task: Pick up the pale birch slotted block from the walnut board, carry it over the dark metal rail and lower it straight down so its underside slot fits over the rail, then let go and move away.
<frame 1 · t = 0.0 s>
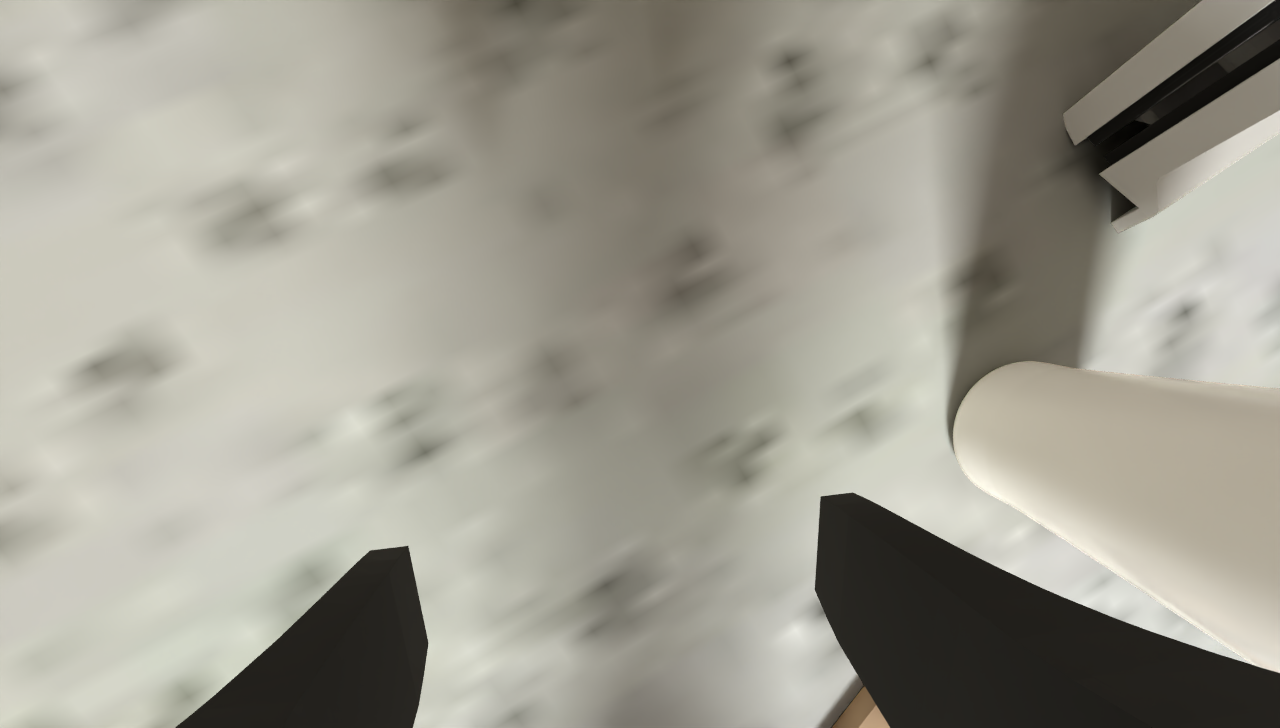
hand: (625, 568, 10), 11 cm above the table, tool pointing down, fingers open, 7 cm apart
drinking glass: (1004, 425, 23), on the table
light grey piece: (1245, 27, 22), on the table
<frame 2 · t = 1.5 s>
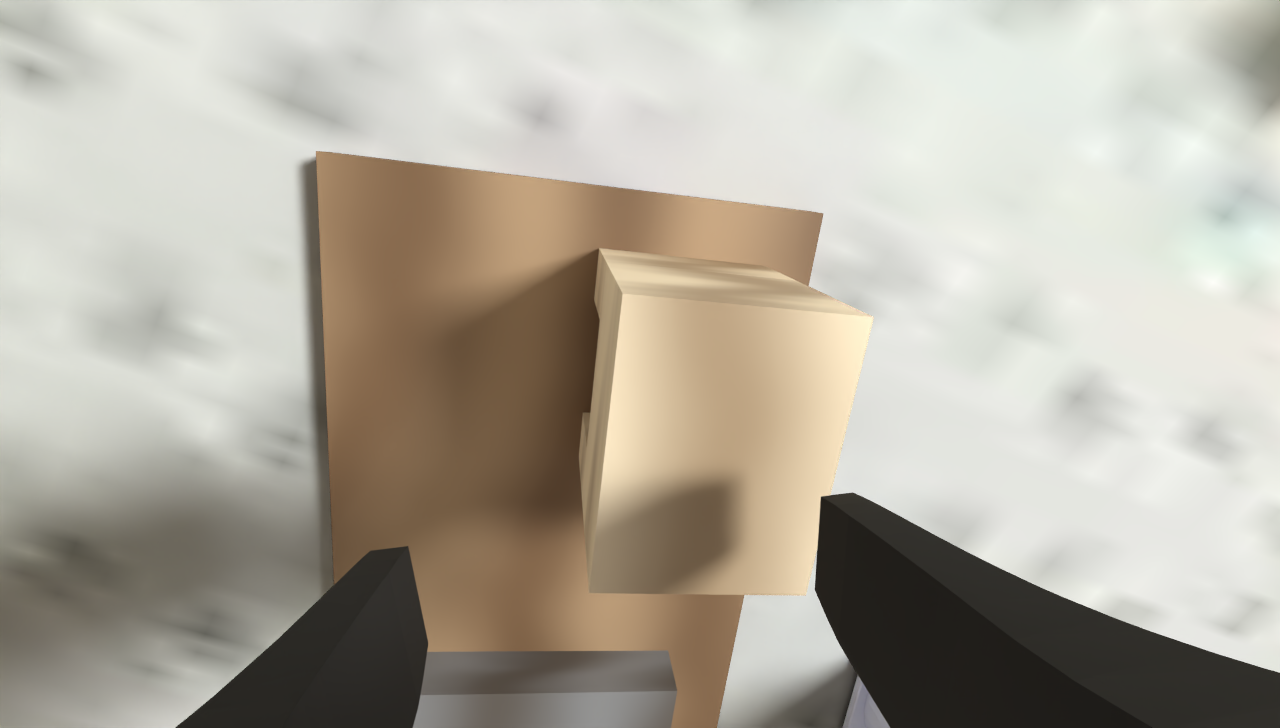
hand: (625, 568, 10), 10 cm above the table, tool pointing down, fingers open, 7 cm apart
board: (554, 536, 21), on the table
slotted block: (668, 363, 18), point 1 cm above the table, touching board
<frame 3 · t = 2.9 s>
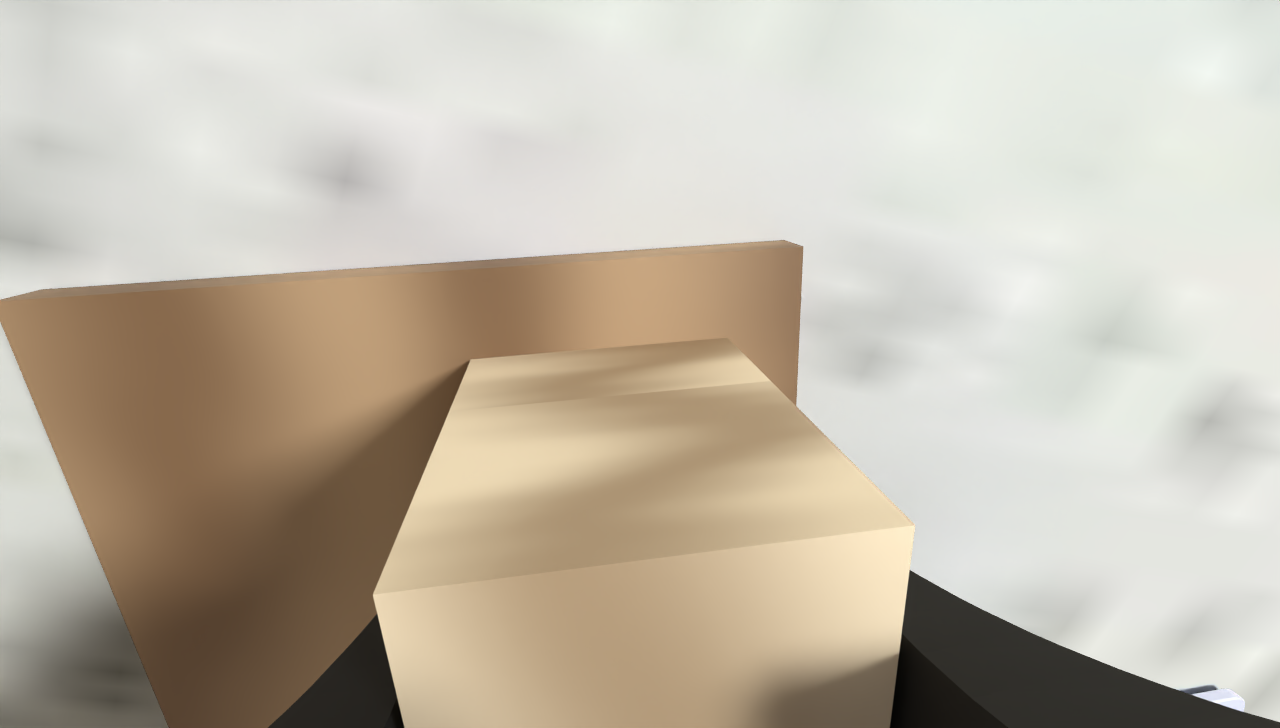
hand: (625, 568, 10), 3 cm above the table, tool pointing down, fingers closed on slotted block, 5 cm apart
board: (511, 721, 15), on the table
slotted block: (612, 495, 13), point 1 cm above the table, touching board, gripper
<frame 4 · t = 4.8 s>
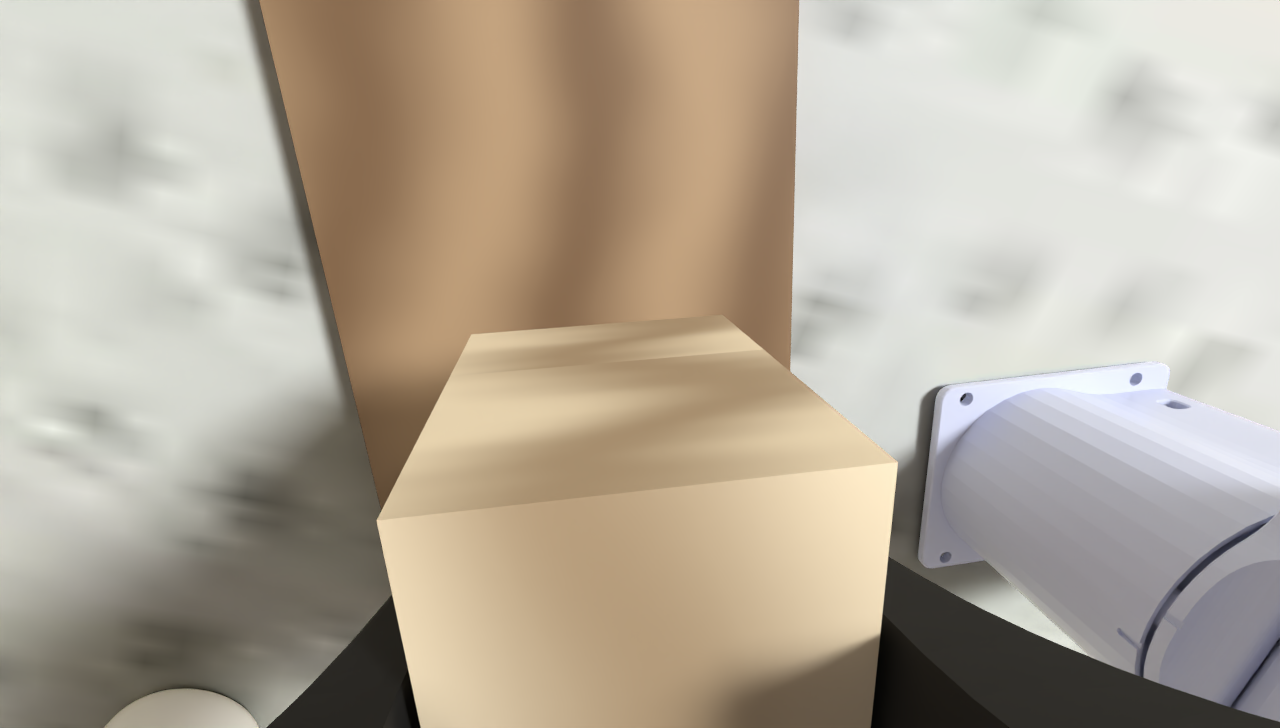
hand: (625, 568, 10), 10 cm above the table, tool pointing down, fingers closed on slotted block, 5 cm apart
board: (577, 341, 20), on the table
slotted block: (610, 472, 13), point 8 cm above the table, touching gripper
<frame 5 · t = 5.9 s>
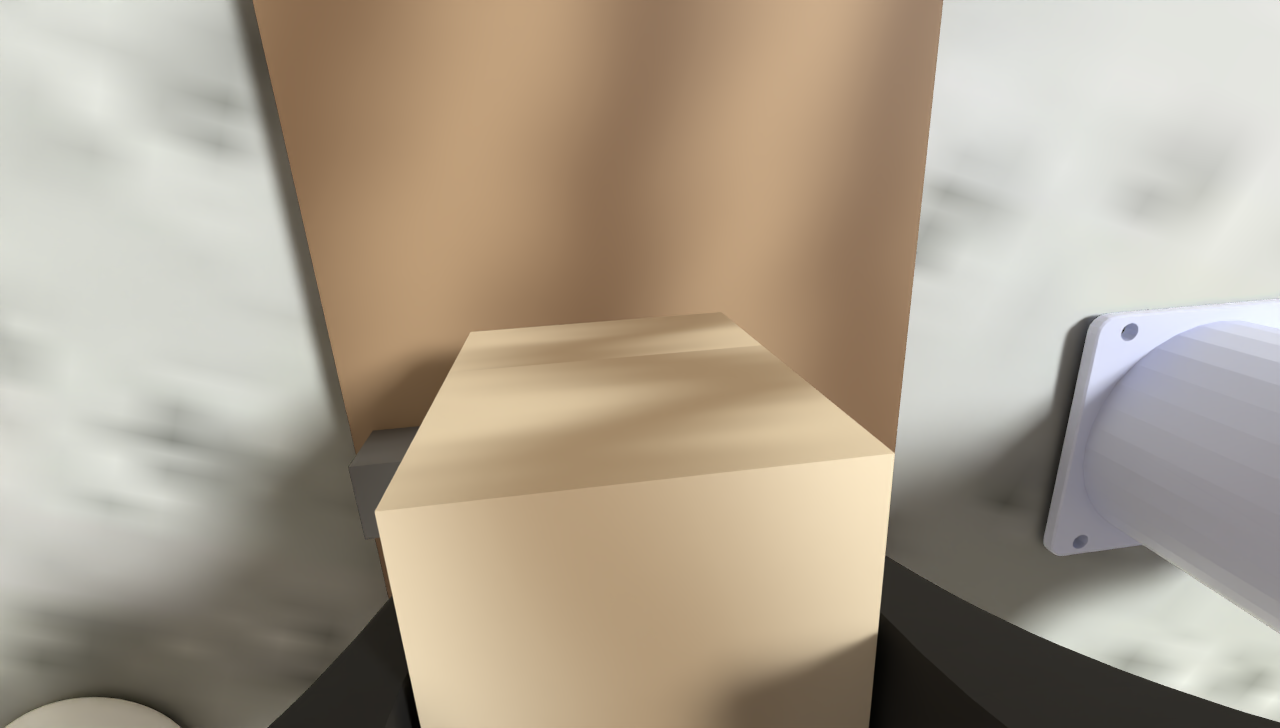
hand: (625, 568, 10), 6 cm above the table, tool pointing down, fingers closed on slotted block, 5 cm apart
board: (628, 234, 14), on the table
slotted block: (609, 469, 13), point 3 cm above the table, touching gripper
when the fingers open (4 cm above the table, at t = 6.7 s): slotted block stays where it is, resting on board.
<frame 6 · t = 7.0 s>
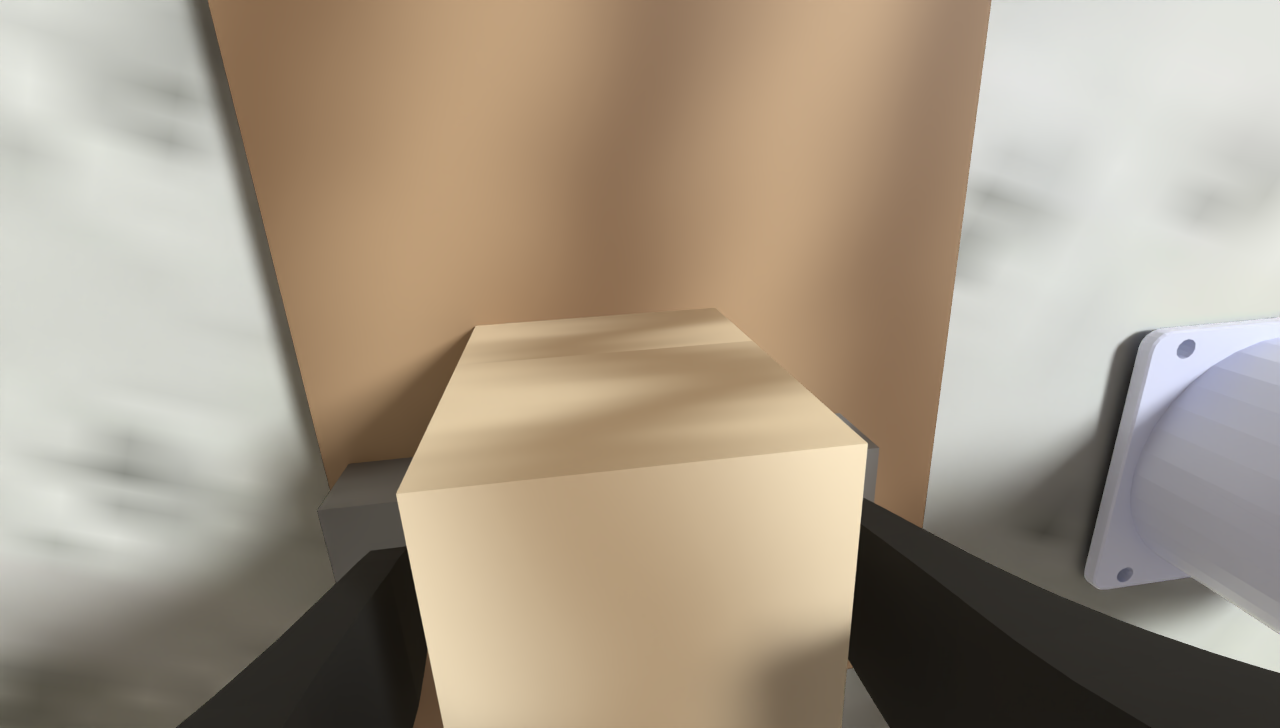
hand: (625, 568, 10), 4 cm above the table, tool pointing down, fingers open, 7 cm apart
board: (635, 243, 13), on the table
slotted block: (607, 457, 13), point 1 cm above the table, touching board
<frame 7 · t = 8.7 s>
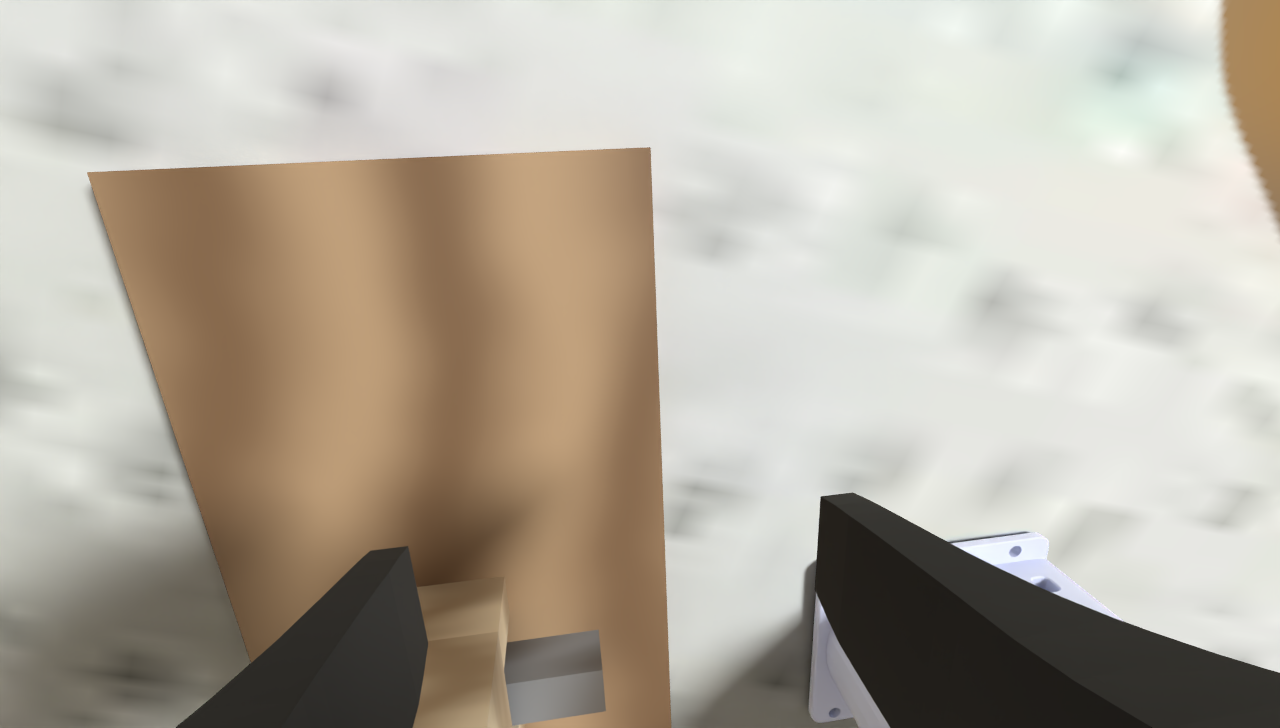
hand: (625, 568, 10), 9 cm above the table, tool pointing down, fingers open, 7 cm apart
board: (457, 530, 20), on the table
slotted block: (442, 663, 21), point 1 cm above the table, touching board
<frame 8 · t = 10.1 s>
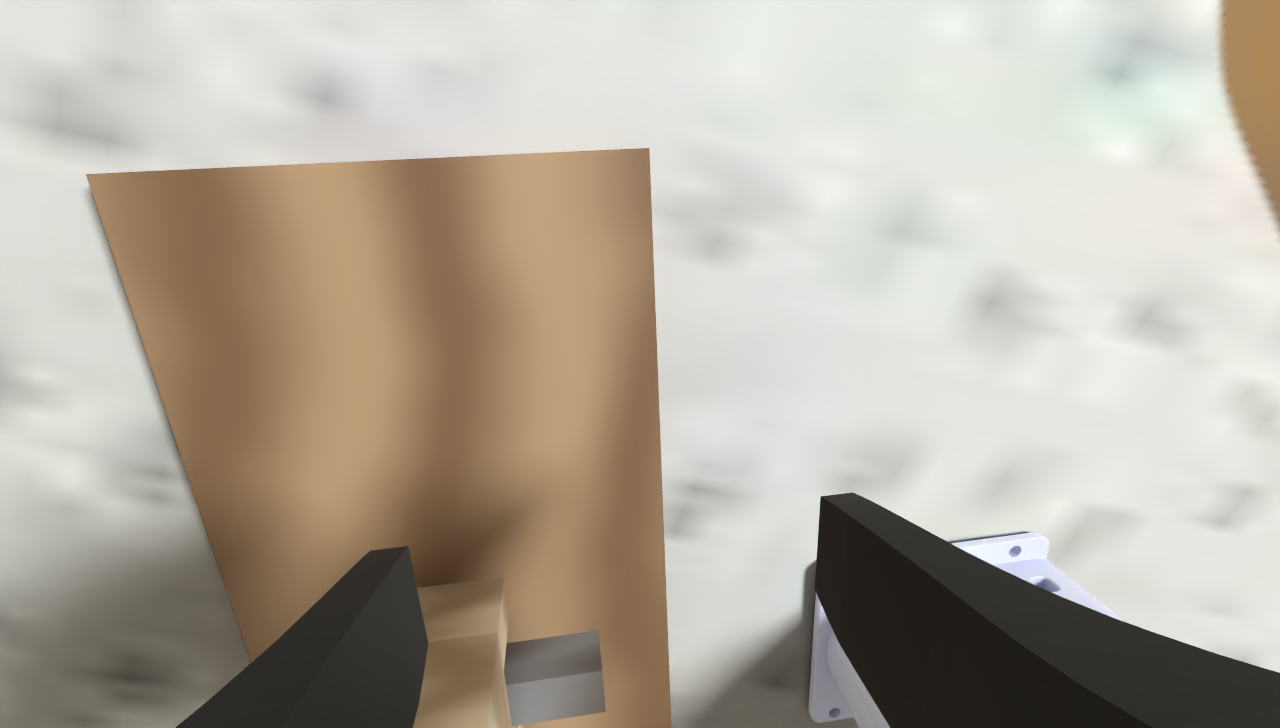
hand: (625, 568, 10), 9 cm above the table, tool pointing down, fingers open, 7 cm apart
board: (456, 531, 20), on the table
slotted block: (442, 664, 21), point 1 cm above the table, touching board
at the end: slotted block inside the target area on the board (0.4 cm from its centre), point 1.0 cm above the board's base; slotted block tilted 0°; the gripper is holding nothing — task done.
